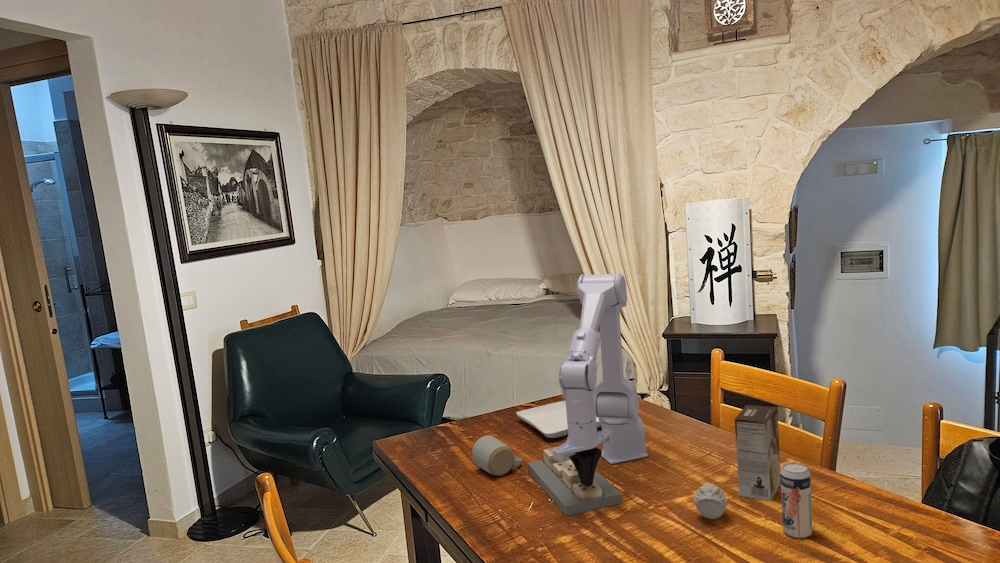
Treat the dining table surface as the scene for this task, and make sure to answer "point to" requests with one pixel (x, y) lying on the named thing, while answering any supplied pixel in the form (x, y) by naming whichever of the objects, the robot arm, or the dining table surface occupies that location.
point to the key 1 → (551, 457)
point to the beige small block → (570, 477)
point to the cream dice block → (561, 467)
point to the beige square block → (587, 491)
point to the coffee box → (758, 452)
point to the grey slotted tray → (565, 496)
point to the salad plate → (549, 419)
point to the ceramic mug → (494, 456)
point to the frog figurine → (710, 501)
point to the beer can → (796, 500)
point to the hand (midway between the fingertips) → (586, 484)
